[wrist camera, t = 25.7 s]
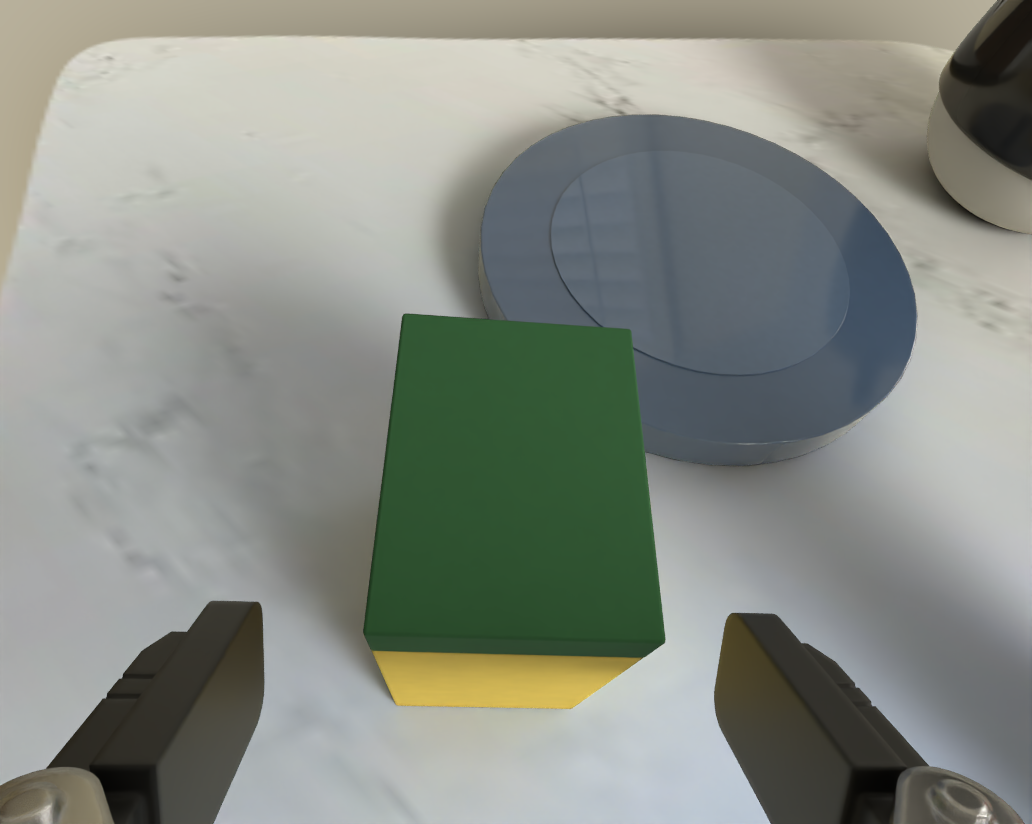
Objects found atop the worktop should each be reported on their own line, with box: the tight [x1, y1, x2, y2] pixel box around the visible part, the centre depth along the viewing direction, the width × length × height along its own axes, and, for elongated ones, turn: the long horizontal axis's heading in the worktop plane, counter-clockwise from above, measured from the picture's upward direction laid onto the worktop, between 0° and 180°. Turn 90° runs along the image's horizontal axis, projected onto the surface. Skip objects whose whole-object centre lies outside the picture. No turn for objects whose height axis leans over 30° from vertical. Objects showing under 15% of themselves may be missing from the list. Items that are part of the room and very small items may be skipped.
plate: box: [478, 115, 918, 466], centre depth 24 cm, size 16×16×2 cm
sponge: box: [363, 314, 665, 709], centre depth 14 cm, size 4×6×8 cm
